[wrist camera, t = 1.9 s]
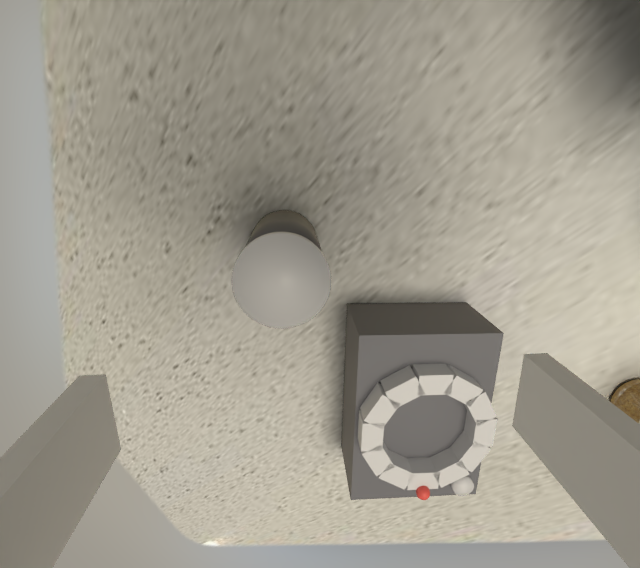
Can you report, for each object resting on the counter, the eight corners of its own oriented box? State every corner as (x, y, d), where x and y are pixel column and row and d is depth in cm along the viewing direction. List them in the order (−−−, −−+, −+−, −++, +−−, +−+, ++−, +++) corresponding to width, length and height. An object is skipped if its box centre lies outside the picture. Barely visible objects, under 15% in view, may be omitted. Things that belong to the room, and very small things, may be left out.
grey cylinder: (248, 208, 29) (228, 233, 20) (318, 209, 30) (332, 233, 20) (251, 277, 31) (234, 331, 21) (317, 277, 31) (329, 330, 22)
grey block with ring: (347, 303, 32) (365, 350, 24) (466, 302, 33) (520, 347, 25) (341, 445, 36) (355, 523, 29) (447, 441, 37) (488, 516, 29)
